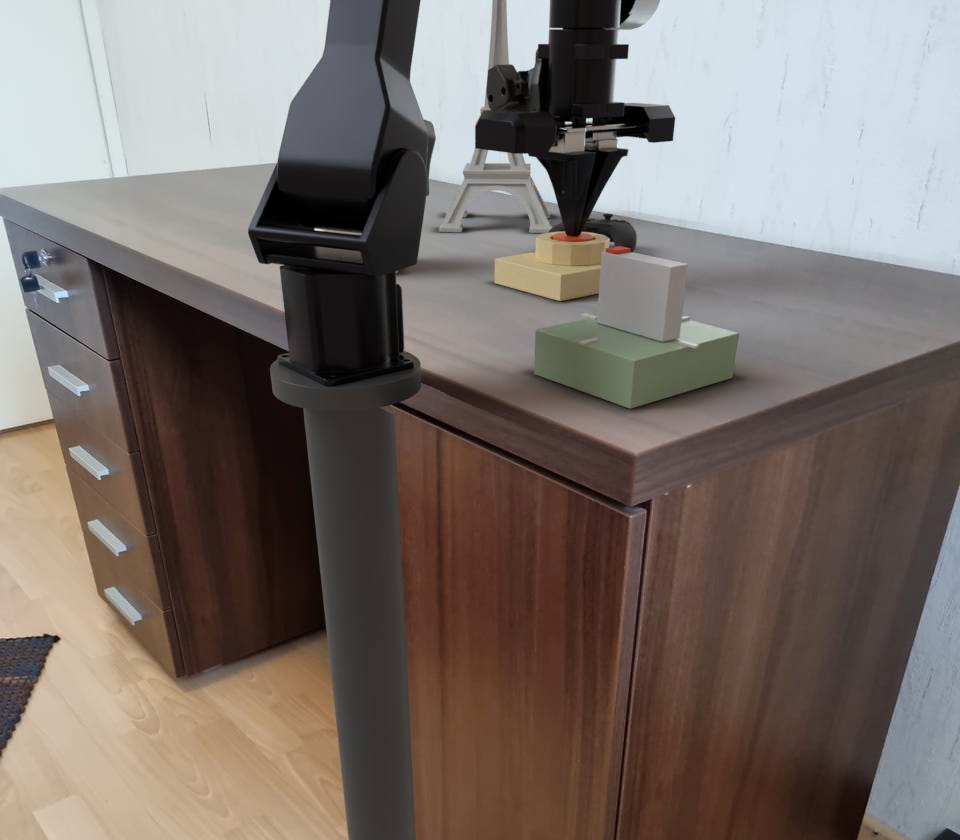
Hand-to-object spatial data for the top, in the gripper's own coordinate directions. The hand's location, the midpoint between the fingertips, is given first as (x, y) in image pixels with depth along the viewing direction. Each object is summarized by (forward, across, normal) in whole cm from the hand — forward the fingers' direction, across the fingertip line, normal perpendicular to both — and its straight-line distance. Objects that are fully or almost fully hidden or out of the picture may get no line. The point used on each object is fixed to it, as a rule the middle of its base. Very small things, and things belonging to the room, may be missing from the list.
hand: (572, 235), depth 83 cm
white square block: (+1, +16, +23) cm, 28 cm away
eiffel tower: (+4, -16, -30) cm, 34 cm away
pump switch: (+4, 0, 0) cm, 4 cm away
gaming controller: (+4, -13, -10) cm, 17 cm away
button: (+2, 0, 0) cm, 2 cm away
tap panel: (+4, +16, +23) cm, 28 cm away
